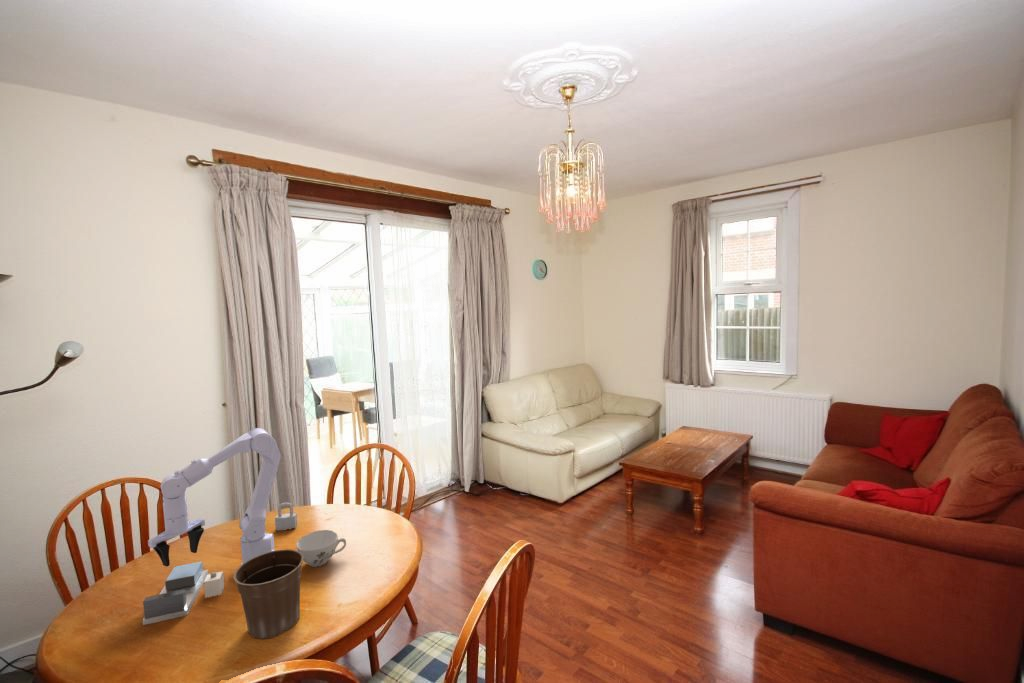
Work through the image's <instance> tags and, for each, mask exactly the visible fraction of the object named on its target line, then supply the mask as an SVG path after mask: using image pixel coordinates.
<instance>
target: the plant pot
mask: <svg viewBox="0 0 1024 683" xmlns="http://www.w3.org/2000/svg"><path fill="white" fill-rule="evenodd" d="M303 562H304V561H303V555H302V553H300V552H299V551H298V550H297V549H291V548H290V549H285V548H284V549H275V551H271V552H267V553H264V554H261V555H258V556H256V557H254V558H252V559H250V560H248V561H246V562H245V563H243V564H242V563H241V564H242V565H241V564H240V566H238V567H237V568H236V570H235V571H234V573H233V581H234V583H235V584H236V585H237V591H238V594H239V595H240V597H241V602H242V607H243V611H244V617H245V622H246V626H247V632H248V634H250V636H251V637H252V638H254V639H259V640H265V639H272V638H274V636H275V637H278V636H279V634H280V635H282V633H284V632H285V631H286V630H290V629H291V628H293V627H294V626H295V625H296V624H297V622H298V621H299V619H300V612H301V611H300V610H301V609H300V605H301V603H300V602H301V601H300V600H301V599H300V597H301V575H302V564H303Z"/></svg>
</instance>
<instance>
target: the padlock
mask: <svg viewBox="0 0 1024 683" xmlns="http://www.w3.org/2000/svg"><path fill="white" fill-rule="evenodd" d="M285 506H287V507H288V508H289V512H288V513H287V512H286V513H282V508H283V507H285ZM274 524H275V525H274V526H275V531H287V530H286V529H289V530H292V529H291V528H295V529H296V528H297V526H298V525H297V524H298V513H297V512H294V505H292V503H290V502H282V503H280V504H279V505H278V507H277V515H276V516H275V517H274Z"/></svg>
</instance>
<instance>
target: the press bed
mask: <svg viewBox="0 0 1024 683" xmlns="http://www.w3.org/2000/svg"><path fill="white" fill-rule="evenodd" d="M208 574H209V569H208V568H207V569H203V571H202V572H201V574H200V576H199V578H198V580H197V582H196V583H195V585H191V586H186V587H181V588H177V589H172V590H167V591H166V586H165V585H164V586H163V588H162V589H161V591H159V594H156V595H151V596H145V598H144V599H143V600H142V606H143V614H144V616H143V619H142V626H145V625H151V624H154V623H155V624H156V623H159V622H164V621H167V620H174V619H177V618H182V617H185V616H186V615H187V616H188V614H189V613H190V611H191V608H192V607H193V605H194V604H195V601H196V599H197V597H198V596H199V593H200V592H201V589H202V587H203V586H204V584H203V583H204V580H205V578H206V577H207V575H208ZM202 585H203V586H202Z"/></svg>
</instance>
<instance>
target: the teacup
mask: <svg viewBox="0 0 1024 683" xmlns="http://www.w3.org/2000/svg"><path fill="white" fill-rule="evenodd" d="M338 537H339V536H338V533H337V532H335V531H333V530H330V529H322V530H316V531H312V532H310V533H307V534H305V535H302V536H301V537H300V538H299V539H298V540H297V541H296V544H295V545H296V551H299V552H300V553H302V555H303V562H304V563H305V564H306V565H308V566H309V567H311V566H312V567H311V568H318V567H317V566H319V567H322V566H323V564H324V565H325V563H326V564H327V563H328V562H329V560H331V558H332V557H333V555H335V554H337V553H339V552H342V551H343V550H344V549H345V548H346V546H347V540H346V538H343V537H342V538H338ZM340 543H343V545H342V547H341V548H339V549H337V547H338V545H339V544H340ZM327 561H328V562H327ZM321 565H322V566H321Z"/></svg>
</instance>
